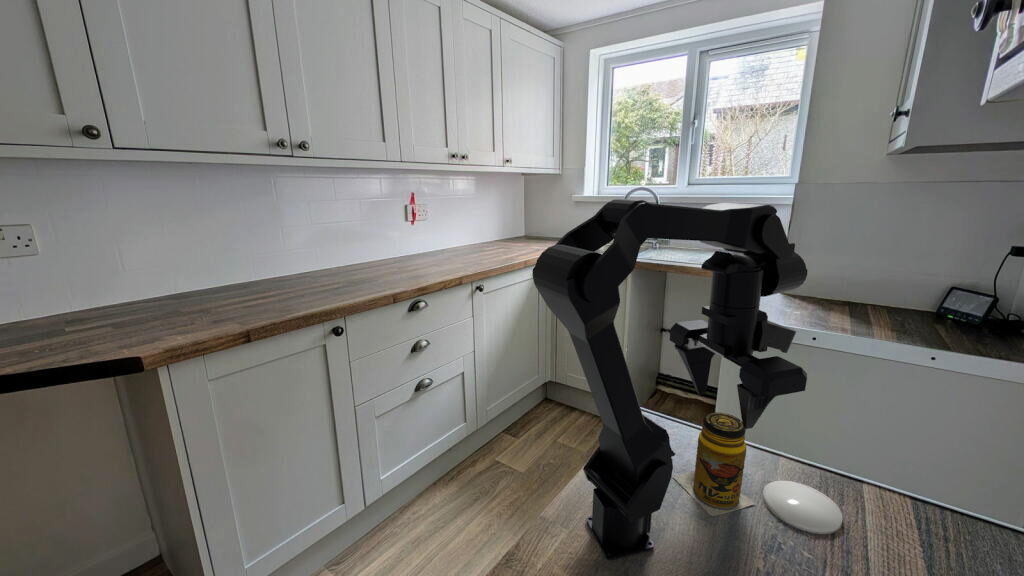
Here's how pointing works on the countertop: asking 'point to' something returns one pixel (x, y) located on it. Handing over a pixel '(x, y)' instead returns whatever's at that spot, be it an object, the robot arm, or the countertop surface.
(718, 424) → the condiment
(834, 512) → the coaster
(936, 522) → the countertop surface
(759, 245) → the robot arm
